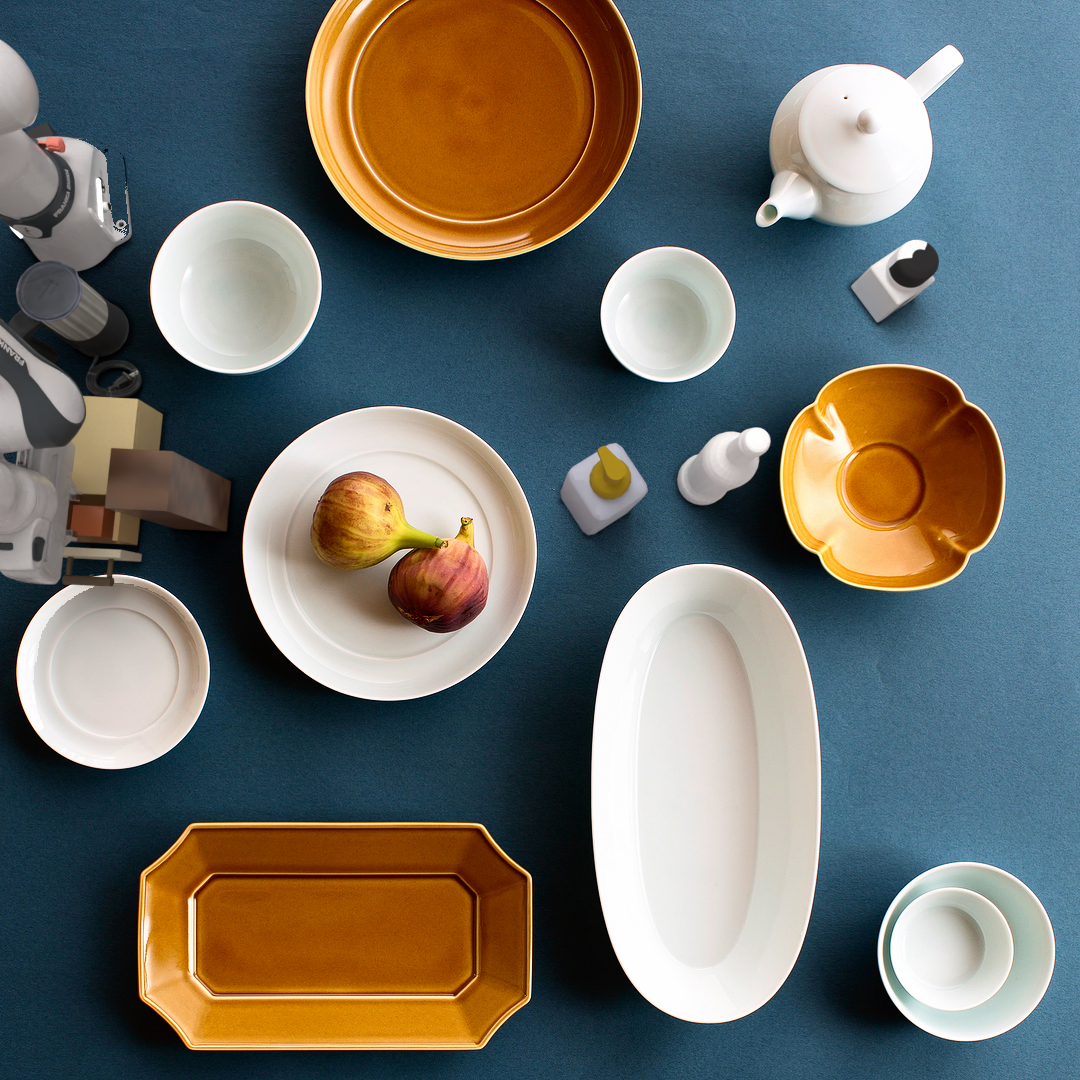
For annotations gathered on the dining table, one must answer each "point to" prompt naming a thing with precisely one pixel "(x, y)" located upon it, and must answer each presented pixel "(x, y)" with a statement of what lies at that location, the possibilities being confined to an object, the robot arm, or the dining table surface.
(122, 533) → the drawer
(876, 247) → the dining table surface
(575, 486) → the soap bottle
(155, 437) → the cabinet
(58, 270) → the milk frother
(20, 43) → the dining table surface
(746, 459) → the bottle
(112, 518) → the block
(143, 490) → the stand
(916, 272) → the container
